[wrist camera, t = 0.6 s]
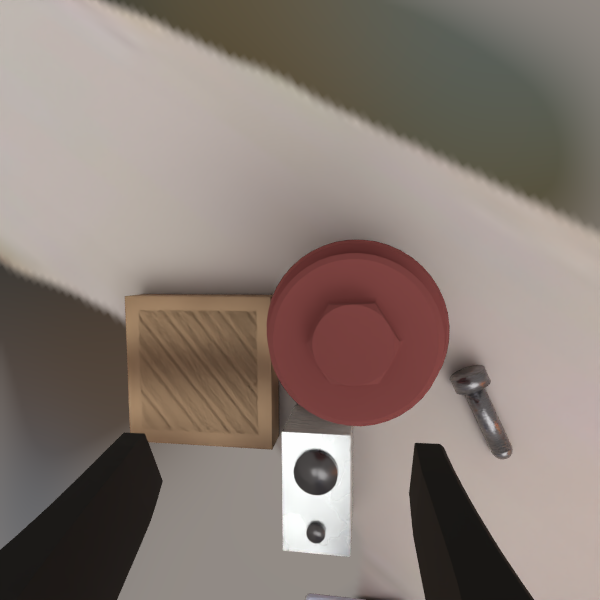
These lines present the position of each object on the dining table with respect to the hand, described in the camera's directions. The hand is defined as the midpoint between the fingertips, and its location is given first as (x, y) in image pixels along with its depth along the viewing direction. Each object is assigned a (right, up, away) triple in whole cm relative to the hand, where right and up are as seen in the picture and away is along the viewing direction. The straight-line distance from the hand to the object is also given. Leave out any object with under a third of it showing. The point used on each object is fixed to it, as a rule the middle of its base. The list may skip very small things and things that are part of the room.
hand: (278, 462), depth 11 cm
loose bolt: (+14, -4, +19) cm, 24 cm away
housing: (+2, -8, +21) cm, 22 cm away
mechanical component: (+5, +3, +20) cm, 21 cm away
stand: (-7, -1, +22) cm, 23 cm away
